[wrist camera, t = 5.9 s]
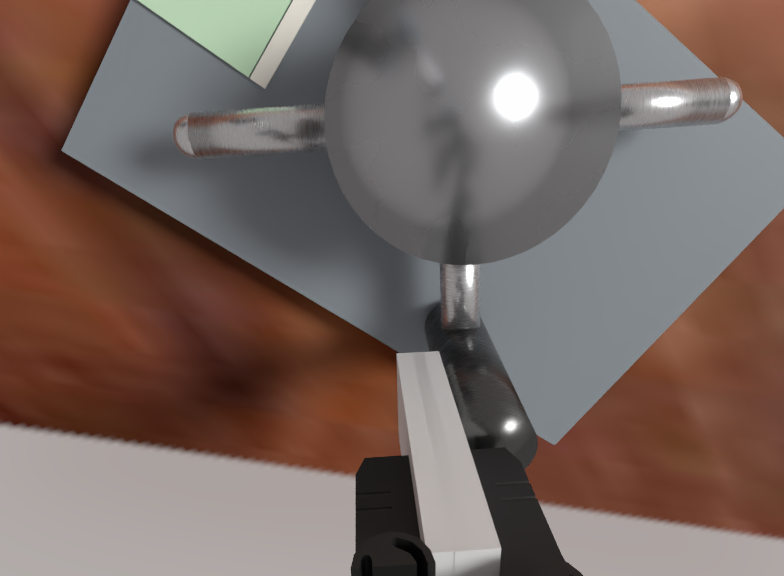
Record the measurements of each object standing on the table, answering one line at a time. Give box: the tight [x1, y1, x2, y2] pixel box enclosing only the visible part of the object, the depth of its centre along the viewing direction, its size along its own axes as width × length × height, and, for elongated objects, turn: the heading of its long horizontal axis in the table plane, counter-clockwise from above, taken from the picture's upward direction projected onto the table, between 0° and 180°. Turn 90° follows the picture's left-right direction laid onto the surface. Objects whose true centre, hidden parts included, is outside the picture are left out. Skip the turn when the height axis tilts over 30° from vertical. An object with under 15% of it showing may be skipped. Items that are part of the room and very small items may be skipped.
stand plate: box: [61, 0, 784, 445], centre depth 17 cm, size 20×13×1 cm, turn 55°
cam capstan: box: [172, 0, 743, 469], centre depth 12 cm, size 15×17×7 cm
